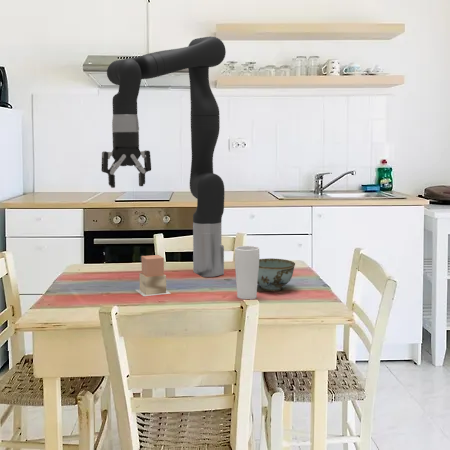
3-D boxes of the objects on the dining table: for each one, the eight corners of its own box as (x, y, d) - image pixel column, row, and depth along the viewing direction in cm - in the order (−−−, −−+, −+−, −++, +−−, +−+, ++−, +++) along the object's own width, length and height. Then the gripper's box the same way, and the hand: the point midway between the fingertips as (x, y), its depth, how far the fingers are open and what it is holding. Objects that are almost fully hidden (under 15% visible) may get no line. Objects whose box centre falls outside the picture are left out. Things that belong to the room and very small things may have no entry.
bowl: (242, 292, 195) (242, 265, 194) (256, 282, 208) (256, 256, 207) (288, 296, 191) (288, 268, 190) (299, 285, 203) (299, 259, 202)
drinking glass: (230, 299, 187) (230, 246, 185) (252, 297, 190) (252, 245, 187) (240, 305, 181) (241, 250, 179) (263, 302, 183) (263, 249, 181)
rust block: (158, 271, 193) (158, 254, 192) (163, 275, 189) (163, 257, 188) (141, 273, 191) (141, 256, 190) (146, 276, 187) (146, 259, 186)
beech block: (159, 288, 195) (159, 271, 194) (166, 292, 189) (166, 275, 188) (139, 290, 192) (139, 273, 191) (145, 295, 187) (145, 277, 186)
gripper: (145, 130, 199) (146, 184, 201) (97, 130, 193) (99, 187, 195) (153, 130, 192) (154, 186, 195) (104, 131, 186) (106, 189, 189)
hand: (127, 186), depth 195 cm, fingers open, 8 cm apart
